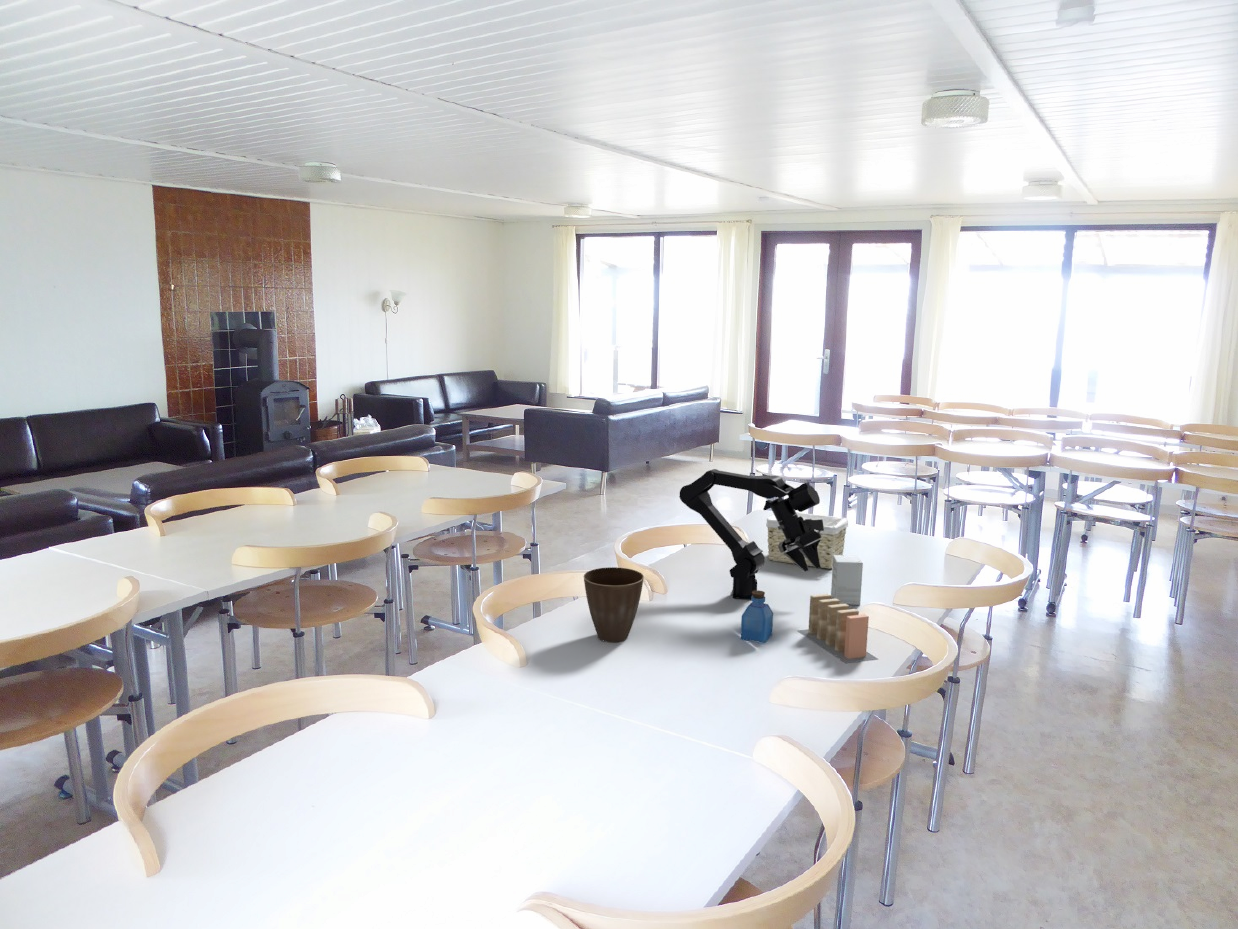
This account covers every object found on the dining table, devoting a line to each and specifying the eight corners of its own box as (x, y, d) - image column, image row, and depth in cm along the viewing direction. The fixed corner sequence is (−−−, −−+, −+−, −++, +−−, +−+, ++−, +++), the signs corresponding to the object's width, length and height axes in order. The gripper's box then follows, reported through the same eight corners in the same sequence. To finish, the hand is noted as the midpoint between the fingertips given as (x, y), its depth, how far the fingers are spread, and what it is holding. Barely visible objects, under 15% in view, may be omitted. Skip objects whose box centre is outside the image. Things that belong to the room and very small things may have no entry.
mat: (797, 631, 218) (797, 630, 218) (827, 628, 221) (827, 627, 221) (845, 664, 198) (846, 663, 198) (878, 660, 201) (878, 659, 201)
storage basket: (762, 560, 283) (764, 517, 281) (779, 549, 297) (781, 508, 294) (833, 572, 271) (835, 527, 269) (847, 560, 285) (849, 517, 283)
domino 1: (808, 632, 217) (810, 595, 215) (825, 630, 218) (827, 593, 217) (811, 634, 215) (813, 597, 214) (828, 632, 217) (830, 595, 215)
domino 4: (834, 650, 206) (837, 610, 204) (852, 647, 207) (854, 608, 205) (838, 652, 204) (840, 613, 202) (856, 650, 206) (858, 611, 204)
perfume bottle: (740, 639, 212) (742, 593, 210) (748, 631, 218) (750, 587, 216) (764, 644, 210) (766, 597, 207) (772, 636, 215) (774, 591, 213)
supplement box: (855, 597, 246) (858, 555, 244) (860, 605, 239) (863, 562, 237) (830, 596, 247) (832, 554, 245) (834, 604, 240) (836, 561, 238)
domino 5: (844, 656, 202) (846, 616, 200) (861, 653, 203) (864, 614, 202) (848, 658, 200) (850, 618, 199) (865, 656, 202) (868, 616, 200)
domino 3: (825, 644, 209) (827, 605, 208) (843, 642, 211) (845, 603, 209) (829, 646, 208) (831, 607, 206) (846, 644, 209) (849, 605, 208)
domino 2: (816, 638, 213) (819, 600, 211) (833, 636, 215) (836, 598, 213) (820, 640, 212) (822, 602, 210) (837, 638, 213) (839, 600, 211)
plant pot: (636, 651, 204) (637, 587, 201) (576, 645, 207) (577, 582, 204) (646, 629, 218) (648, 569, 215) (590, 624, 221) (591, 565, 218)
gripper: (824, 501, 228) (850, 554, 226) (800, 511, 246) (824, 560, 244) (789, 518, 226) (815, 571, 224) (767, 527, 244) (791, 576, 242)
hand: (812, 569), depth 234 cm, fingers open, 9 cm apart
